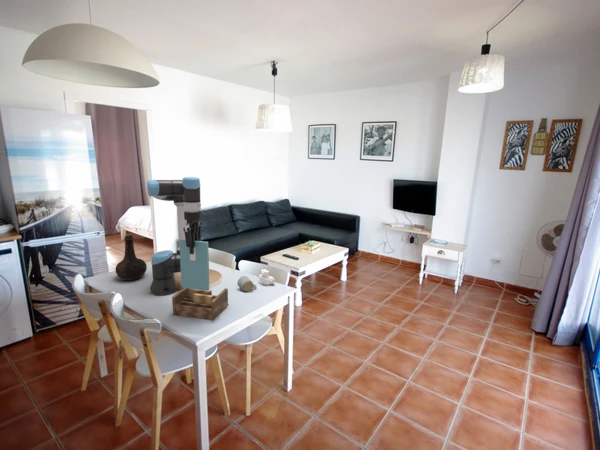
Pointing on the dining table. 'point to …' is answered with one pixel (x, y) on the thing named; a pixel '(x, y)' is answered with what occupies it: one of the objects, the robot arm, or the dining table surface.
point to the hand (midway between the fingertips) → (194, 259)
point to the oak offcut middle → (198, 292)
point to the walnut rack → (199, 306)
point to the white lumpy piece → (266, 277)
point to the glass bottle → (130, 263)
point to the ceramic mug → (245, 284)
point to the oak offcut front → (202, 298)
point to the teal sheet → (194, 266)
